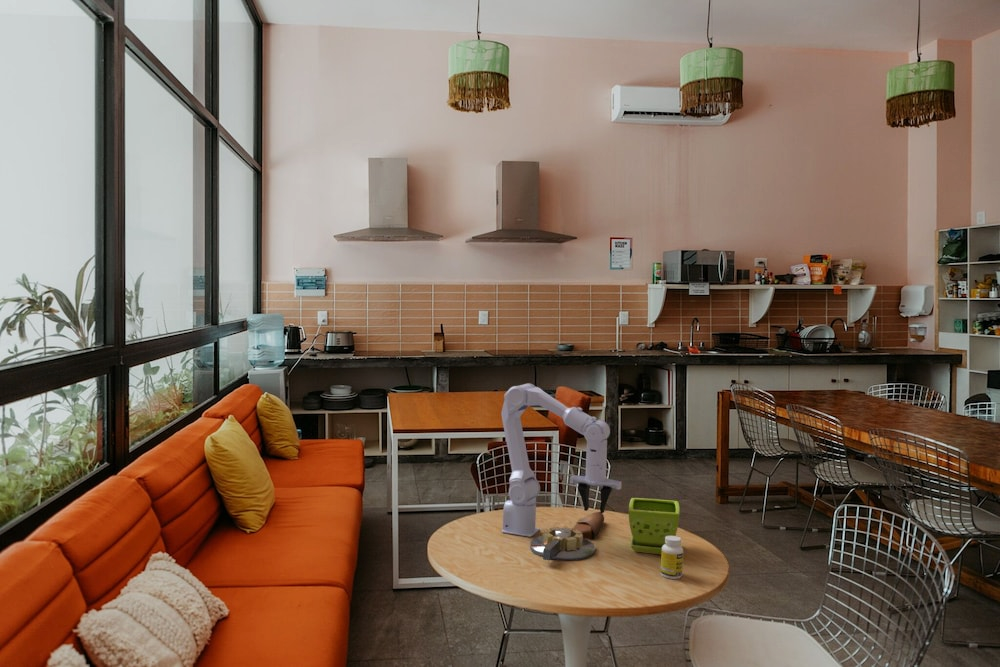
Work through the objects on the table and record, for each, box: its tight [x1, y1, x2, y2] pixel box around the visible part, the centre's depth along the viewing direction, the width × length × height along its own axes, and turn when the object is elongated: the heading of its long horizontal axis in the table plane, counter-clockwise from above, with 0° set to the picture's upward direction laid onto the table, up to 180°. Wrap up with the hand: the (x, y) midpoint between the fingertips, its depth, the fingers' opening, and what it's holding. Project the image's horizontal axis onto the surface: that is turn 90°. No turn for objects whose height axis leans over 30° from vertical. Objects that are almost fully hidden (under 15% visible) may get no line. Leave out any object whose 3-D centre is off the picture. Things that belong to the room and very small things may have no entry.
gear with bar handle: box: [542, 526, 583, 562], centre depth 199 cm, size 11×20×3 cm, turn 158°
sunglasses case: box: [572, 511, 605, 541], centre depth 221 cm, size 18×7×7 cm
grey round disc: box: [529, 527, 596, 562], centre depth 203 cm, size 18×18×5 cm
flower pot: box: [628, 497, 681, 555], centre depth 205 cm, size 14×14×13 cm
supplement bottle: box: [660, 535, 684, 580], centre depth 186 cm, size 5×5×10 cm
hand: (594, 511), depth 206 cm, fingers open, 4 cm apart
